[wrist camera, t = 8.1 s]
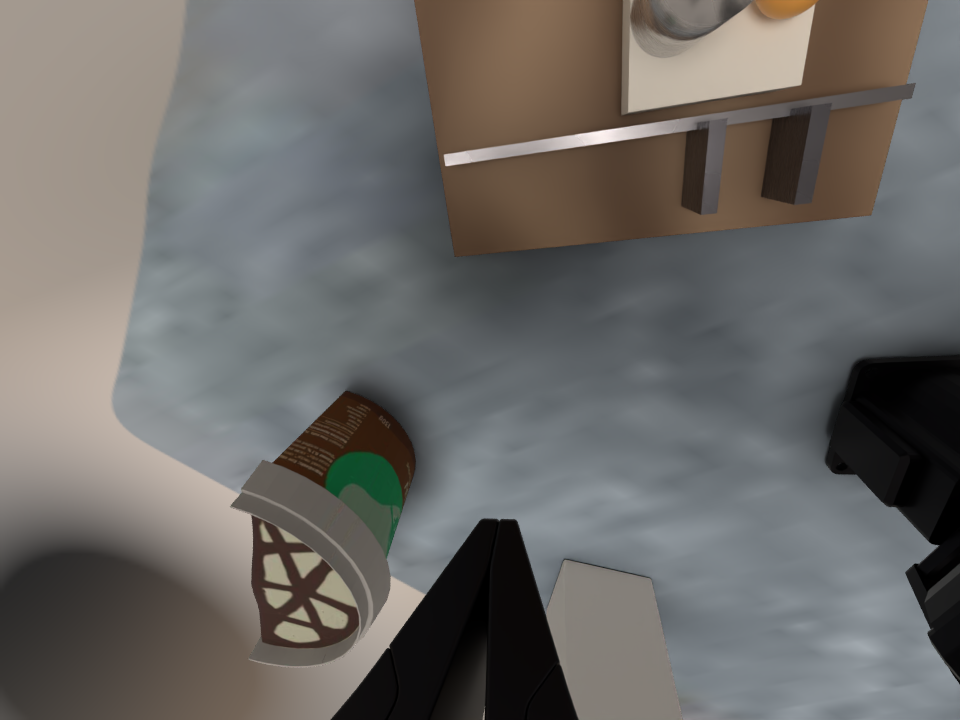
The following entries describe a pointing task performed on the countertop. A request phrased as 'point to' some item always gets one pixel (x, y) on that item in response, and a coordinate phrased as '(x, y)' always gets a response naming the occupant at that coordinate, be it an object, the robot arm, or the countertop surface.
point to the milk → (611, 645)
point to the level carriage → (710, 50)
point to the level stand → (649, 127)
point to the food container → (326, 532)
